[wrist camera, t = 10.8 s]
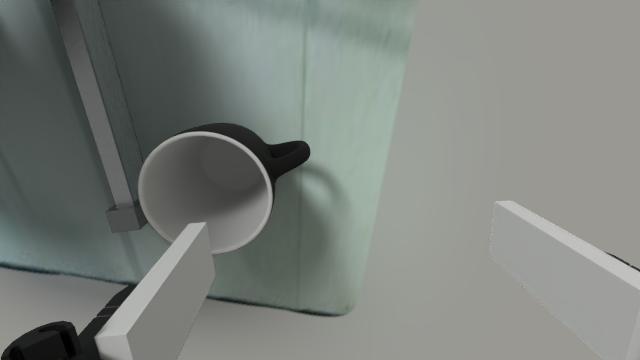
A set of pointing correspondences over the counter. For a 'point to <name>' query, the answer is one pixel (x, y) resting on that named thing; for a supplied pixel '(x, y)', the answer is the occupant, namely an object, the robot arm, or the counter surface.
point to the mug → (215, 182)
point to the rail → (103, 106)
